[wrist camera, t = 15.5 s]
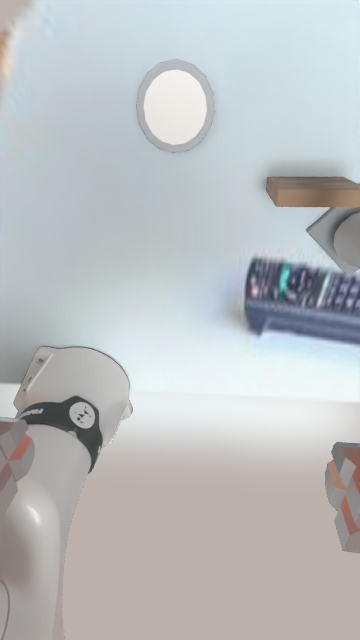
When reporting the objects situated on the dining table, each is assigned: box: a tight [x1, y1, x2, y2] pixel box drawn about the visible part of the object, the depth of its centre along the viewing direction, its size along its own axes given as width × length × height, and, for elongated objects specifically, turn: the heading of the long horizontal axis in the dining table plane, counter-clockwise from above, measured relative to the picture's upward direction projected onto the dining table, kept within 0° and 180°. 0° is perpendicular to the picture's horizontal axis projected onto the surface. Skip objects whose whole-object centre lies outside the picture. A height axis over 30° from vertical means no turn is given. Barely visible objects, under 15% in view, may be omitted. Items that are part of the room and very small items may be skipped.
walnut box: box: [267, 177, 360, 207], centre depth 34 cm, size 8×2×8 cm, turn 91°
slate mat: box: [307, 184, 360, 276], centre depth 39 cm, size 8×8×1 cm
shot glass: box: [136, 59, 214, 153], centre depth 32 cm, size 7×7×7 cm
